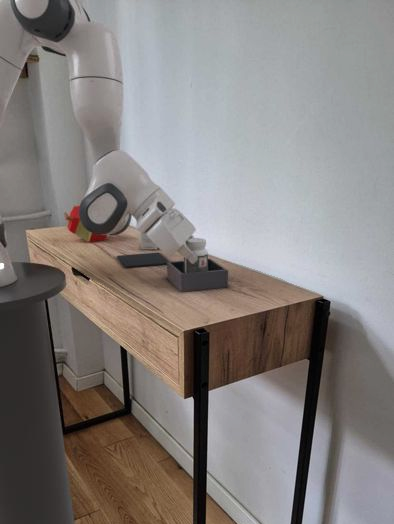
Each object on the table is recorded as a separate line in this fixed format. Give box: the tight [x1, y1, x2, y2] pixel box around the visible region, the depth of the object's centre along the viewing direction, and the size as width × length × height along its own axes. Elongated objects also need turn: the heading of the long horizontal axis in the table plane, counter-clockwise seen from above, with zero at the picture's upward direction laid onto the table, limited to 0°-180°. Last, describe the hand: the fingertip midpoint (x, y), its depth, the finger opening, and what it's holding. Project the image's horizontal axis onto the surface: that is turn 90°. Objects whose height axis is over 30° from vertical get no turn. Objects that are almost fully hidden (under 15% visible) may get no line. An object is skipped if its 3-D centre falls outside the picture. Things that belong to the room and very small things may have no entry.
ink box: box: [139, 231, 159, 251], centre depth 145 cm, size 8×5×12 cm, turn 0°
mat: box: [116, 252, 170, 269], centre depth 132 cm, size 12×12×1 cm
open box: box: [166, 258, 229, 293], centre depth 113 cm, size 11×11×4 cm
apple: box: [63, 205, 108, 243], centre depth 154 cm, size 12×12×15 cm
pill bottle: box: [183, 237, 209, 273], centre depth 111 cm, size 6×6×10 cm
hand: (198, 257), depth 111 cm, fingers closed on pill bottle, 6 cm apart
